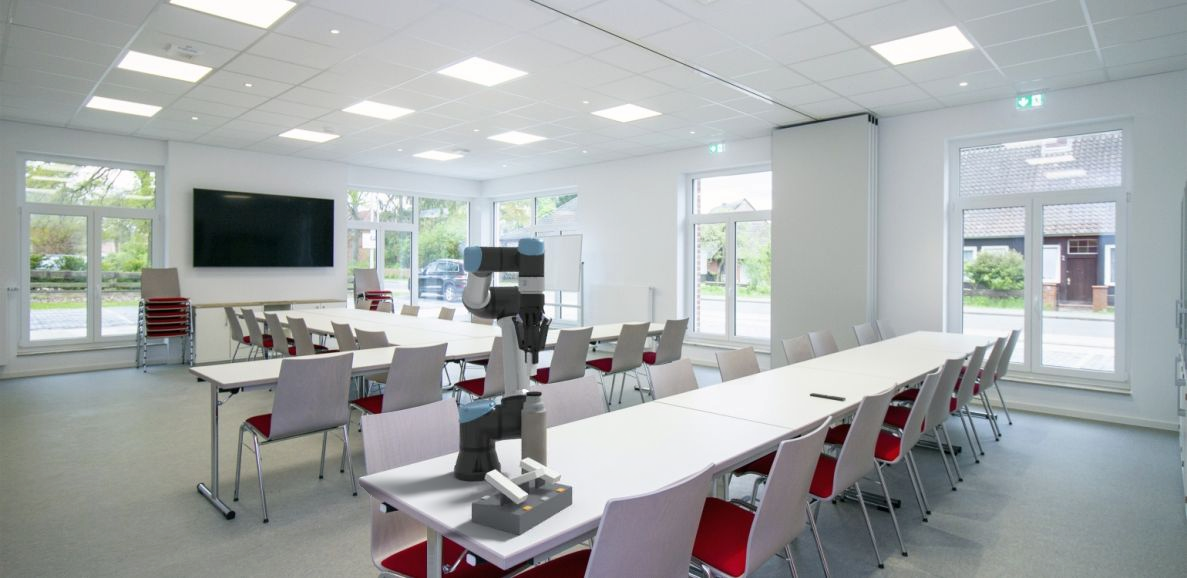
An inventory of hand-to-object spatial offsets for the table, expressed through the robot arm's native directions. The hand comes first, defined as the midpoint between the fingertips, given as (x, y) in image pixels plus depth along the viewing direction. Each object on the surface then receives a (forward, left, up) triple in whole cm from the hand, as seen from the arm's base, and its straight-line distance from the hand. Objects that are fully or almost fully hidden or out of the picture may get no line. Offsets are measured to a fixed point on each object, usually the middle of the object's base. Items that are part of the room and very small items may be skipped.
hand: (531, 375), depth 173 cm
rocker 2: (+3, -8, -27) cm, 28 cm away
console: (+3, -8, -36) cm, 37 cm away
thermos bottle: (-10, +14, -37) cm, 40 cm away
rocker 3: (+3, 0, -27) cm, 27 cm away
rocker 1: (+3, -15, -27) cm, 31 cm away
